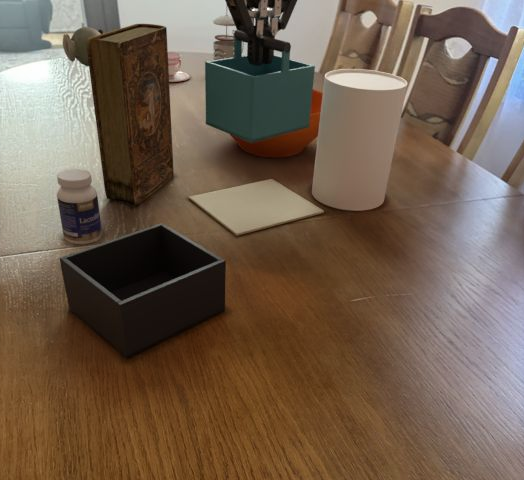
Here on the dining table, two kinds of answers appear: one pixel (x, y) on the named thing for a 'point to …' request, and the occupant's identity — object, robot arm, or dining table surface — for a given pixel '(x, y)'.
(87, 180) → the pill bottle
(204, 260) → the charcoal bin
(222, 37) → the french press
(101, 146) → the book
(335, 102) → the canister
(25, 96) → the dining table surface
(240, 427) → the dining table surface
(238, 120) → the teal bin
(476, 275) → the dining table surface
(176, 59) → the teacup
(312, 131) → the bowl
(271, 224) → the cream mat
